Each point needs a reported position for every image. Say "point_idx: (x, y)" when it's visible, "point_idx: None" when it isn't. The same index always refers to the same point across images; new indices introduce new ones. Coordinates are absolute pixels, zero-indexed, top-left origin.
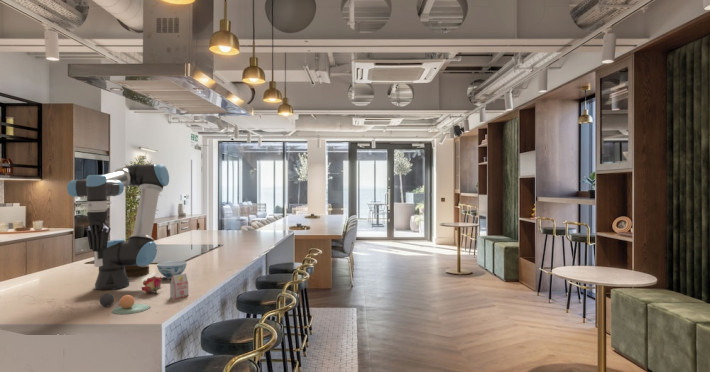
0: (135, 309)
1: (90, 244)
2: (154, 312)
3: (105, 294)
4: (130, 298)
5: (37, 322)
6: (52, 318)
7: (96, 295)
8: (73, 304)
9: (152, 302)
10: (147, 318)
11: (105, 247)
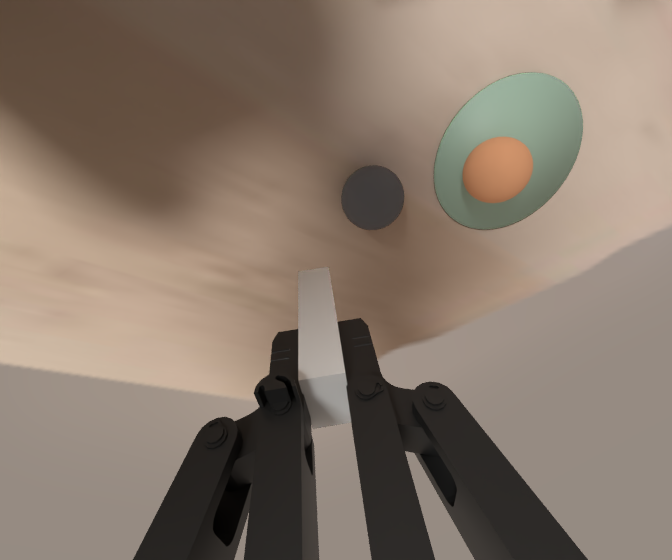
0: (535, 159)
1: (230, 535)
2: (637, 138)
3: (385, 219)
4: (531, 173)
5: None
6: None
7: (82, 92)
8: (210, 247)
9: (529, 13)
10: (646, 200)
11: (455, 416)
